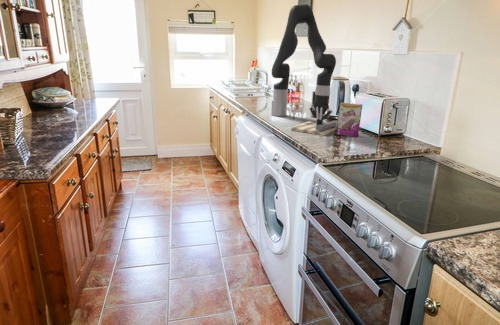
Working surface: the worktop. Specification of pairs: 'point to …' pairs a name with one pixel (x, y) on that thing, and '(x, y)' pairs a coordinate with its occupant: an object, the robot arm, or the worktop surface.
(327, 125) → the swing bar
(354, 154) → the worktop surface
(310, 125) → the striped wooden cutting board
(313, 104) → the coffee box
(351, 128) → the candy bar box
